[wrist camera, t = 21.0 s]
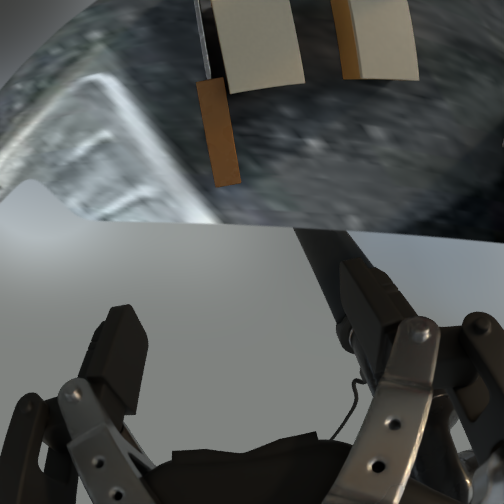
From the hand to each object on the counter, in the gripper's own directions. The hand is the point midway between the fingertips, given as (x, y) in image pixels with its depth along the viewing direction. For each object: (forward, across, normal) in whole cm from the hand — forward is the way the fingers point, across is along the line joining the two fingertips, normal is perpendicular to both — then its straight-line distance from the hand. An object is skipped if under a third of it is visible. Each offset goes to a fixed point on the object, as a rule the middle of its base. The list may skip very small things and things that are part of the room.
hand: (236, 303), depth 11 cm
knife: (+22, 0, -9) cm, 24 cm away
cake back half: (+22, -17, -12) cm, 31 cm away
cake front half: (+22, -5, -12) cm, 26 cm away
